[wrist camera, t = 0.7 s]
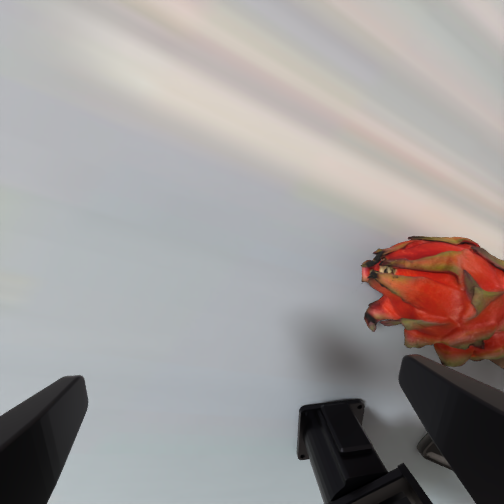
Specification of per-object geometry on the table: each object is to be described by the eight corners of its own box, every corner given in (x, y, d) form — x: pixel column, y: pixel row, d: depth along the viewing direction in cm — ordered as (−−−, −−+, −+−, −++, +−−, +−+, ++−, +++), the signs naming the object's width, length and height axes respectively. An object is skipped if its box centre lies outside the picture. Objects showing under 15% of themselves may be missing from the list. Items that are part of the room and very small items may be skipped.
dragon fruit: (432, 303, 24) (330, 249, 23) (537, 255, 18) (404, 177, 17) (459, 396, 18) (324, 329, 17) (627, 371, 12) (433, 264, 11)
